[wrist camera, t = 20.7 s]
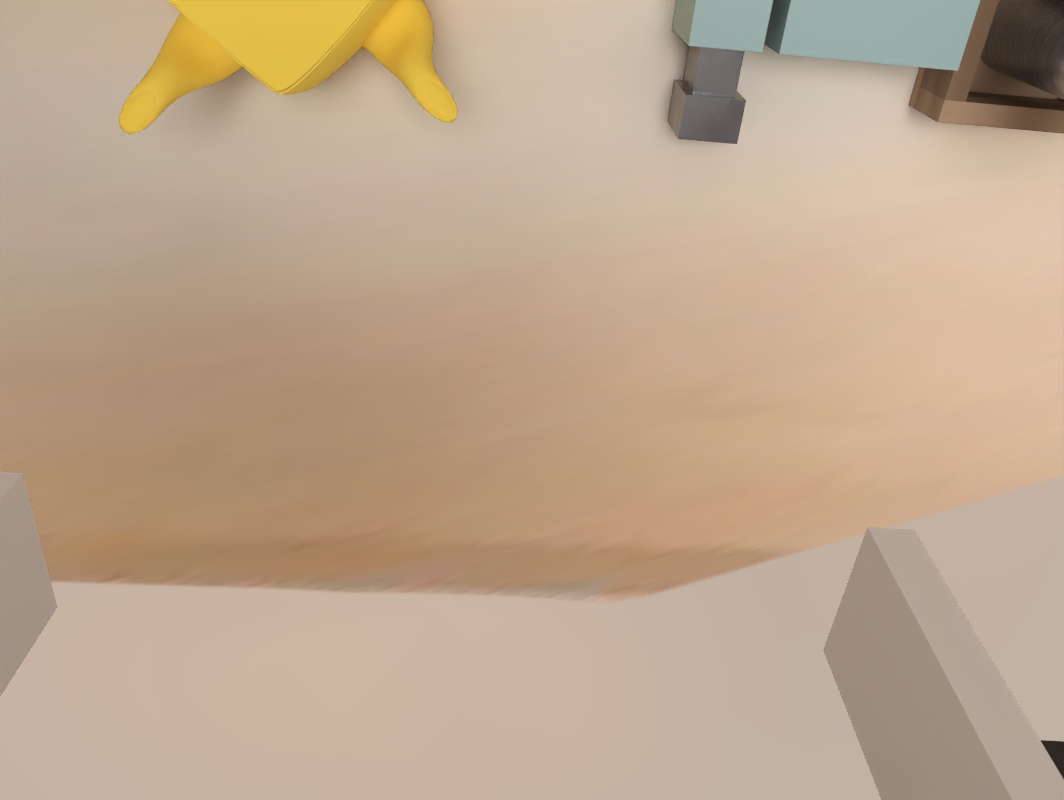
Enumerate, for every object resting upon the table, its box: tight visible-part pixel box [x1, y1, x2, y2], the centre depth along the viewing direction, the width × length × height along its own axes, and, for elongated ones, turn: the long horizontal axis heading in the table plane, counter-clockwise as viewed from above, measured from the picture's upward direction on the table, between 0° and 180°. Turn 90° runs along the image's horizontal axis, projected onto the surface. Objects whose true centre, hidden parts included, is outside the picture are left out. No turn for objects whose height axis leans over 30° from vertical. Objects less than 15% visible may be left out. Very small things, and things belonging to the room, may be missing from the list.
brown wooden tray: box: [909, 0, 1064, 133], centre depth 41 cm, size 8×8×4 cm
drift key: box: [668, 46, 746, 144], centre depth 40 cm, size 3×10×4 cm, turn 175°
